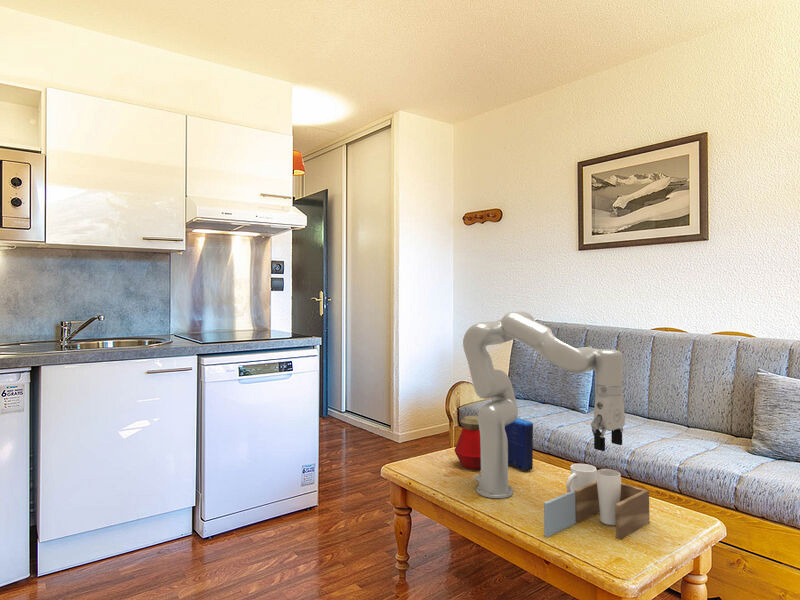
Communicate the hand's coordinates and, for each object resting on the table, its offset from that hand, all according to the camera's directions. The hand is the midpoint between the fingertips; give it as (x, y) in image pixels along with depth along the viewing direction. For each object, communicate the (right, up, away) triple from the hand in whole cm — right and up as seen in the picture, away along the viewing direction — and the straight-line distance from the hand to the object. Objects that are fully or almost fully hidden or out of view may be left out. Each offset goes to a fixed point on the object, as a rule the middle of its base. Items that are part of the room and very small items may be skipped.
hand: (608, 447), depth 147 cm
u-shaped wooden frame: (+1, -23, 0) cm, 23 cm away
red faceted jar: (-33, -24, +52) cm, 66 cm away
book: (-16, -24, +50) cm, 58 cm away
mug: (-2, -23, +18) cm, 29 cm away
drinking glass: (0, -23, 0) cm, 23 cm away
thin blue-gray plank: (-16, -23, -5) cm, 28 cm away
